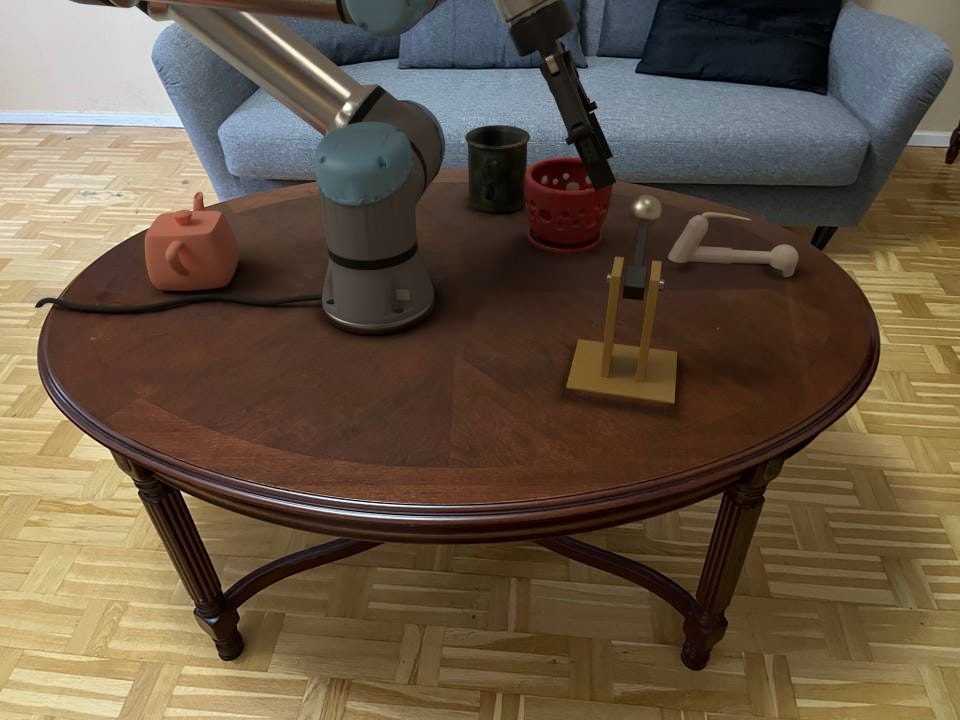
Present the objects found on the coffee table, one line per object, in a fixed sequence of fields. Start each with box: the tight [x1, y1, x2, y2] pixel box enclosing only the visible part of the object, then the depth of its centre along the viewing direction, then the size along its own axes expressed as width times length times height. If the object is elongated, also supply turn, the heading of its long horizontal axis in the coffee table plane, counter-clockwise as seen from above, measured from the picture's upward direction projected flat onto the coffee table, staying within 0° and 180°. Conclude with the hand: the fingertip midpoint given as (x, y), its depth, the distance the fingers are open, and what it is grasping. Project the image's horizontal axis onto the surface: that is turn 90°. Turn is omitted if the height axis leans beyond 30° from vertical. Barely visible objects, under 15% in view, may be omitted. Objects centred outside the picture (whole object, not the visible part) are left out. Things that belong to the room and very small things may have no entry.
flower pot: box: [524, 156, 614, 255], centre depth 109 cm, size 13×13×12 cm
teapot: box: [144, 191, 240, 292], centre depth 103 cm, size 12×18×10 cm, turn 4°
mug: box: [464, 124, 531, 214], centre depth 122 cm, size 11×15×12 cm
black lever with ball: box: [622, 194, 663, 302], centre depth 79 cm, size 13×4×4 cm, turn 166°
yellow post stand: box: [565, 256, 678, 405], centre depth 80 cm, size 10×12×15 cm
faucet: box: [667, 211, 799, 278], centre depth 104 cm, size 4×18×10 cm, turn 81°
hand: (604, 172), depth 93 cm, fingers open, 13 cm apart
